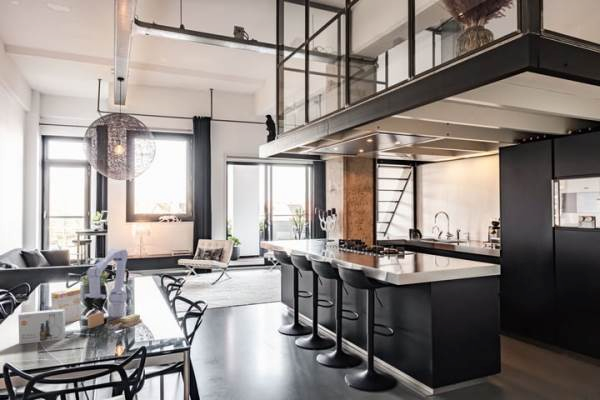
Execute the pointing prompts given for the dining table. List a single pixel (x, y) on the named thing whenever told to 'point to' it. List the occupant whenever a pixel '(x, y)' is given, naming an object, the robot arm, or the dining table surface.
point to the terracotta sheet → (95, 319)
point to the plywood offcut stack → (130, 320)
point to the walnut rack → (117, 323)
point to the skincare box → (41, 326)
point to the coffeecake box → (68, 304)
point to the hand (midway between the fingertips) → (95, 310)
